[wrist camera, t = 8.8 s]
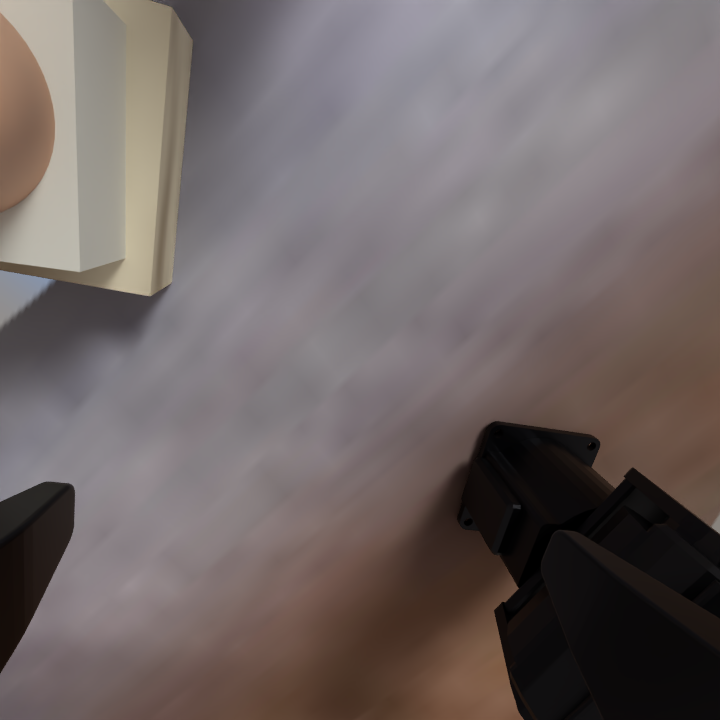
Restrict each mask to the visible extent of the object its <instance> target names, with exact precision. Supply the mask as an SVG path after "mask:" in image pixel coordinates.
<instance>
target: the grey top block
mask: <svg viewBox="0 0 720 720" xmlns="http://www.w3.org/2000/svg"><path fill="white" fill-rule="evenodd" d="M0 13H1V14H2V15H3V16H4V17H5V18H6V19H7V20H8V21H9V22H10V23H11V24H12V25H13V26H14V28H15V29H16V30H17V32H18V33H19V34H20V35H21V37H22V38H23V39H24V41H25V42H26V44H27V45H28V47H29V48H30V50H31V52H32V53H33V55H34V56H35V58H36V60H37V62H38V64H39V66H40V68H41V70H42V72H43V75H44V77H45V80H46V83H47V86H48V88H49V91H50V95H51V100H52V104H53V109H54V118H55V140H54V147H53V153H52V156H51V159H50V163H49V166H48V168H47V170H46V172H45V174H44V176H43V178H42V179H41V181H40V182H39V184H38V185H37V186H36V188H35V189H34V190H33V191H32V192H31V193H30V194H29V195H28V196H27V197H26V198H25V199H24V200H22V201H21V202H19V203H18V204H17V205H15V206H13V207H11V208H9V209H7V210H5V211H3V212H1V213H0V261H2V262H9V263H16V264H24V265H31V266H39V267H46V268H54V269H61V270H68V271H76V272H82V271H85V270H89V269H92V268H95V267H98V266H102V265H105V264H108V263H111V262H115V261H118V260H121V259H125V258H126V24H125V23H124V22H123V21H122V20H121V19H120V18H119V17H118V16H117V15H116V14H115V13H114V11H113V10H112V9H111V8H110V7H109V6H108V5H107V4H106V3H105V2H104V1H103V0H0Z"/></svg>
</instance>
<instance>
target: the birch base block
mask: <svg viewBox="0 0 720 720" xmlns="http://www.w3.org/2000/svg"><path fill="white" fill-rule="evenodd" d="M103 1H104V2H105V3H106V4H107V5H108V6H109V7H110V8H111V9H112V10H113V11H114V13H115V14H116V15H117V16H118V17H119V18H120V19H121V20H122V21H123V22H124V23H125V24H126V258H125V259H121V260H118V261H115V262H111V263H108V264H105V265H102V266H98V267H95V268H92V269H89V270H85V271H82V272H76V271H68V270H61V269H54V268H46V267H39V266H31V265H24V264H16V263H9V262H2V261H0V270H3V271H8V272H14V273H20V274H25V275H31V276H37V277H43V278H48V279H54V280H60V281H65V282H71V283H77V284H82V285H88V286H94V287H100V288H105V289H111V290H117V291H122V292H128V293H134V294H139V295H145V296H152V295H153V294H155V293H157V292H158V291H160V290H161V289H163V288H165V287H166V286H168V285H169V284H171V283H172V274H173V263H174V252H175V240H176V229H177V218H178V206H179V195H180V184H181V173H182V161H183V150H184V139H185V127H186V116H187V105H188V93H189V82H190V71H191V60H192V48H193V40H192V39H191V37H190V35H189V34H188V32H187V31H186V29H185V27H184V26H183V24H182V23H181V21H180V19H179V18H178V16H177V15H176V13H175V11H174V10H173V8H172V7H170V6H167V5H163V4H160V3H157V2H153V1H150V0H103Z"/></svg>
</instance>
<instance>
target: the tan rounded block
mask: <svg viewBox="0 0 720 720" xmlns="http://www.w3.org/2000/svg"><path fill="white" fill-rule="evenodd" d="M54 140H55V118H54V109H53V104H52V100H51V95H50V91H49V88H48V86H47V83H46V80H45V77H44V75H43V72H42V70H41V68H40V66H39V64H38V62H37V60H36V58H35V56H34V55H33V53H32V52H31V50H30V48H29V47H28V45H27V44H26V42H25V41H24V39H23V38H22V37H21V35H20V34H19V33H18V32H17V30H16V29H15V28H14V26H13V25H12V24H11V23H10V22H9V21H8V20H7V19H6V18H5V17H4V16H3V15H2V14H1V13H0V213H1V212H3V211H5V210H7V209H9V208H11V207H13V206H15V205H17V204H18V203H19V202H21V201H22V200H24V199H25V198H26V197H27V196H28V195H29V194H30V193H31V192H32V191H33V190H34V189H35V188H36V186H37V185H38V184H39V182H40V181H41V179H42V178H43V176H44V174H45V172H46V170H47V168H48V166H49V163H50V159H51V156H52V153H53V147H54Z"/></svg>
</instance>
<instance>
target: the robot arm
mask: <svg viewBox="0 0 720 720" xmlns="http://www.w3.org/2000/svg"><path fill="white" fill-rule="evenodd" d="M498 429H500V431H499V433H497V434H494V432H495V431H496V430H498ZM589 443H591V444H590V446H588V444H589ZM587 446H588V447H587ZM599 448H600V441H599V440H598V439H597V438H595V437H594V436H592V435H589V434H582V433H575V432H568V431H561V430H555V429H548V428H541V427H534V426H527V425H520V424H513V423H506V422H500V421H495V422H492V423H491V424H490V425H488V427H487V429H486V432H485V435H484V438H483V441H482V444H481V447H480V450H479V453H478V456H477V458H476V459H475V460H474V462H473V465H472V468H471V471H470V474H469V477H468V480H467V483H466V486H465V489H464V492H463V495H462V501H463V502H462V505H461V508H460V511H459V514H458V517H457V520H458V522H459V524H460V526H461V527H462V528H463V529H466V530H477V531H480V533H481V535H482V536H483V538H484V540H485V542H486V544H487V545H488V547H489V549H490V550H491V552H492V553H493V554H494V555H500V557H501V559H502V560H503V562H504V564H505V566H506V567H507V569H508V571H509V572H510V574H511V576H512V578H513V579H514V581H515V583H516V584H517V586H518V588H519V589H518V590H517V591H516V592H515V593H514V594H513V595H512V596H511V597H510V598H509V599H508V600H507V601H506V602H502V603H501V604H500V605H499V606H498V607H497V608H496V609H495V610H494V613H495V617H496V622H497V626H498V631H499V635H500V640H501V644H502V649H503V653H504V658H505V662H506V667H507V671H508V676H509V680H510V685H511V688H512V692H513V695H514V698H515V700H516V705H517V708H518V711H519V713H520V715H521V716H522V717H523V719H524V720H720V534H719V533H718V532H717V531H715V530H714V529H713V528H711V527H710V526H709V525H708V524H706V523H705V522H704V521H702V520H701V519H700V518H699V517H697V516H696V515H695V514H693V513H692V512H691V511H689V510H688V509H687V508H685V507H684V506H683V505H682V504H680V503H679V502H678V501H676V500H675V499H674V498H672V497H671V496H670V495H668V494H667V493H666V492H664V491H663V490H662V489H661V488H659V487H658V486H657V485H655V484H654V483H653V482H651V481H650V480H649V479H647V478H646V477H645V476H644V475H642V474H641V473H640V472H638V471H637V470H636V469H634V468H633V467H632V468H631V469H630V470H629V471H628V472H627V473H626V474H625V475H624V477H625V479H624V480H623V481H622V483H621V484H620V485H619V486H618V487H617V488H616V489H615V488H614V487H613V486H612V485H610V484H609V483H608V482H607V481H606V480H605V479H604V478H603V477H601V476H600V475H599V474H598V473H597V472H596V471H595V470H594V469H592V468H591V467H592V464H593V462H594V460H595V457H596V455H597V453H598V450H599ZM74 509H75V490H74V487H73V486H72V485H71V484H69V483H59V482H43V483H41V484H38V485H36V486H34V487H32V488H30V489H28V490H25V491H23V492H21V493H19V494H17V495H14V496H12V497H10V498H8V499H6V500H3V501H1V502H0V673H1V671H2V670H3V668H4V666H5V665H6V663H7V662H8V660H9V658H10V657H11V655H12V653H13V652H14V650H15V649H16V647H17V645H18V643H19V642H20V640H21V638H22V637H23V635H24V633H25V631H26V629H27V627H28V625H29V623H30V621H31V620H32V618H33V616H34V613H35V611H36V609H37V607H38V605H39V603H40V601H41V599H42V597H43V595H44V593H45V591H46V589H47V587H48V585H49V583H50V580H51V578H52V576H53V574H54V572H55V570H56V568H57V566H58V564H59V562H60V560H61V558H62V556H63V554H64V552H65V550H66V547H67V545H68V543H69V541H70V539H71V536H72V533H73V529H74ZM467 518H470V519H469V520H467V521H465V520H466V519H467Z"/></svg>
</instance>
